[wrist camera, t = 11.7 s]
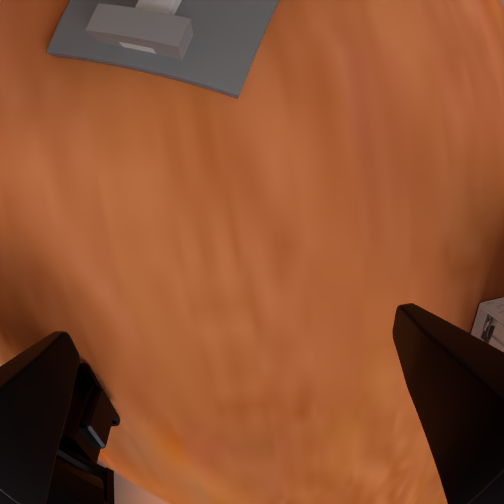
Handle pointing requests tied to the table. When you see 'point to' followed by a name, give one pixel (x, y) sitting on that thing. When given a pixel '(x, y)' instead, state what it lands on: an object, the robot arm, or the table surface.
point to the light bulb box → (490, 323)
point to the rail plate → (205, 55)
